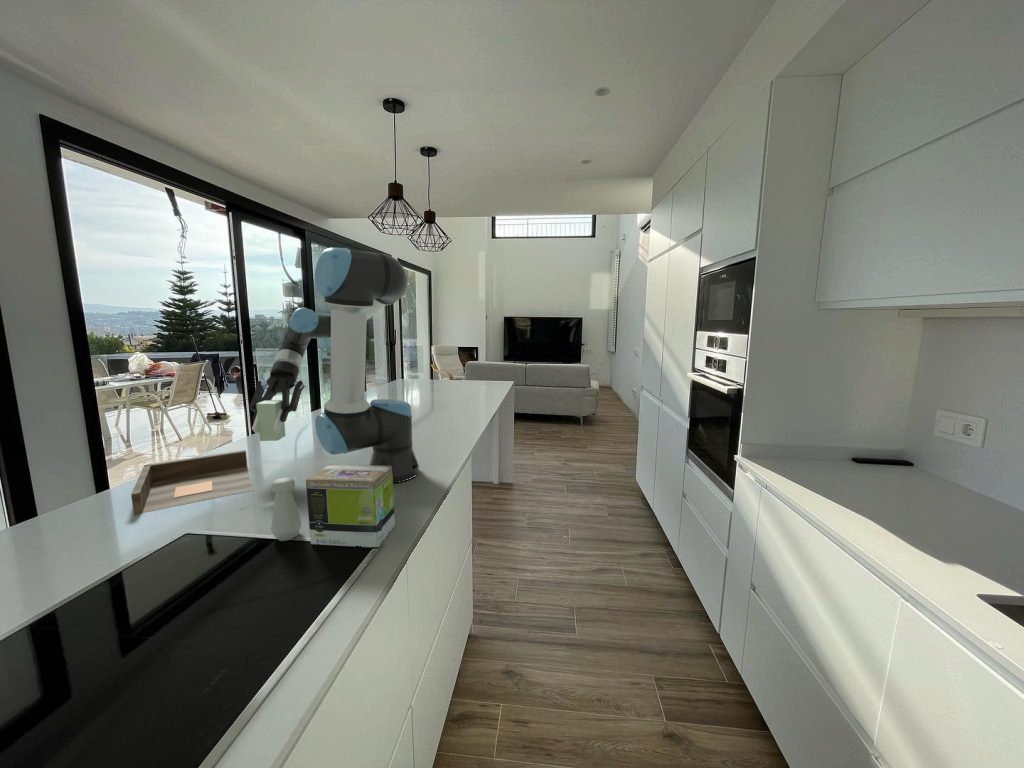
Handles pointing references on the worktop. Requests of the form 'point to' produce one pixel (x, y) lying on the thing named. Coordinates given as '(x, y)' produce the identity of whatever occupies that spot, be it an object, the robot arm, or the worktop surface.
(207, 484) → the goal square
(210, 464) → the tray
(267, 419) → the sage block
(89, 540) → the worktop surface
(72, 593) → the worktop surface
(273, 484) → the salt shaker
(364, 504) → the tea box
